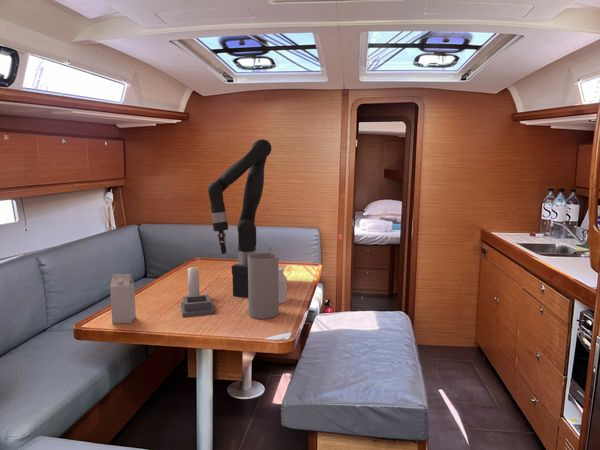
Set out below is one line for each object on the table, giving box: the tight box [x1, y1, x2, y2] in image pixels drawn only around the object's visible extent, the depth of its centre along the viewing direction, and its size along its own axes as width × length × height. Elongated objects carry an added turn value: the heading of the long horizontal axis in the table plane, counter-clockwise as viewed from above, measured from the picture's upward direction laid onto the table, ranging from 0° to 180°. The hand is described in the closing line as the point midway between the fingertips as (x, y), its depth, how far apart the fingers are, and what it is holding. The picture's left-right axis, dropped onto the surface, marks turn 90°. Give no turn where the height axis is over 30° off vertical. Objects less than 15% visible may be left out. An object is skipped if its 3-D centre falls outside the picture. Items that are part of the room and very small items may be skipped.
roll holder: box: [180, 294, 216, 318], centre depth 189 cm, size 13×16×4 cm
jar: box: [279, 266, 288, 305], centre depth 200 cm, size 12×10×15 cm
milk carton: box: [109, 273, 137, 324], centre depth 174 cm, size 7×7×19 cm
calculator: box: [231, 263, 249, 299], centre depth 206 cm, size 11×4×15 cm, turn 71°
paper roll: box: [187, 266, 201, 296], centre depth 204 cm, size 5×5×14 cm
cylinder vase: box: [247, 252, 280, 320], centre depth 181 cm, size 12×12×25 cm
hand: (224, 252), depth 223 cm, fingers open, 8 cm apart
